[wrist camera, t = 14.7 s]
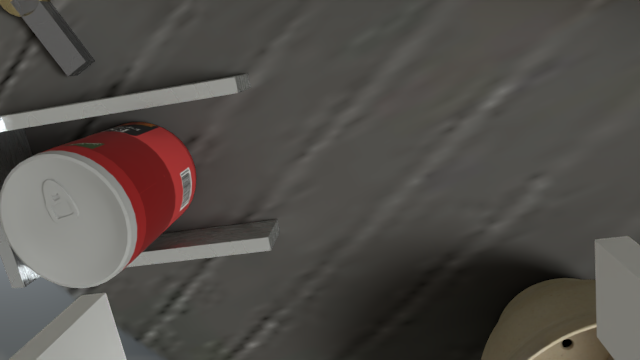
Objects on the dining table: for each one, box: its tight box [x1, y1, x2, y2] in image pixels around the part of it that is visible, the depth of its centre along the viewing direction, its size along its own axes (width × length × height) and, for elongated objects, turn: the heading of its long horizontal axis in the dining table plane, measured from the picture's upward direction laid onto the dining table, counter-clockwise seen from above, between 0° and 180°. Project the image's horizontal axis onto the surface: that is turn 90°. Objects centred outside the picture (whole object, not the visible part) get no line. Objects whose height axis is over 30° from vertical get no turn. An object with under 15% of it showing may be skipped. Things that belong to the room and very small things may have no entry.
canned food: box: [0, 122, 196, 288], centre depth 32 cm, size 8×8×11 cm
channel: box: [0, 74, 280, 288], centre depth 35 cm, size 12×19×5 cm, turn 99°
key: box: [0, 0, 95, 76], centre depth 34 cm, size 8×3×1 cm, turn 34°
